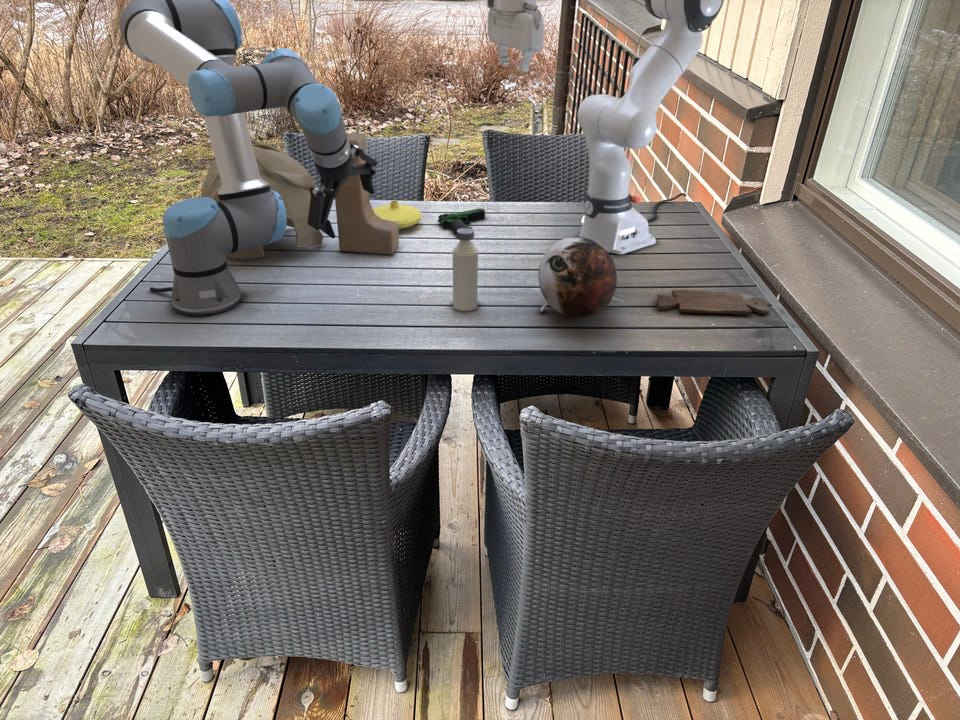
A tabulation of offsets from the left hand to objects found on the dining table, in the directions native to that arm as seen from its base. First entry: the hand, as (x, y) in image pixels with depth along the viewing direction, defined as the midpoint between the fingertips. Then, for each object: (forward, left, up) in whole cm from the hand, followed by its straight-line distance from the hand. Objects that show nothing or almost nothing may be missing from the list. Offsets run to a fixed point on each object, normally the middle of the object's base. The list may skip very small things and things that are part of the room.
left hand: (349, 212), depth 157 cm
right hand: (+36, +25, +26) cm, 51 cm away
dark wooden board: (+83, 0, -22) cm, 86 cm away
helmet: (-29, +33, -22) cm, 49 cm away
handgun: (+25, +51, -22) cm, 61 cm away
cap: (+26, -2, -3) cm, 26 cm away
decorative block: (-1, +32, -22) cm, 39 cm away
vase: (+4, +51, -22) cm, 56 cm away
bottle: (+26, -2, -22) cm, 33 cm away
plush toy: (+51, -4, -22) cm, 55 cm away
